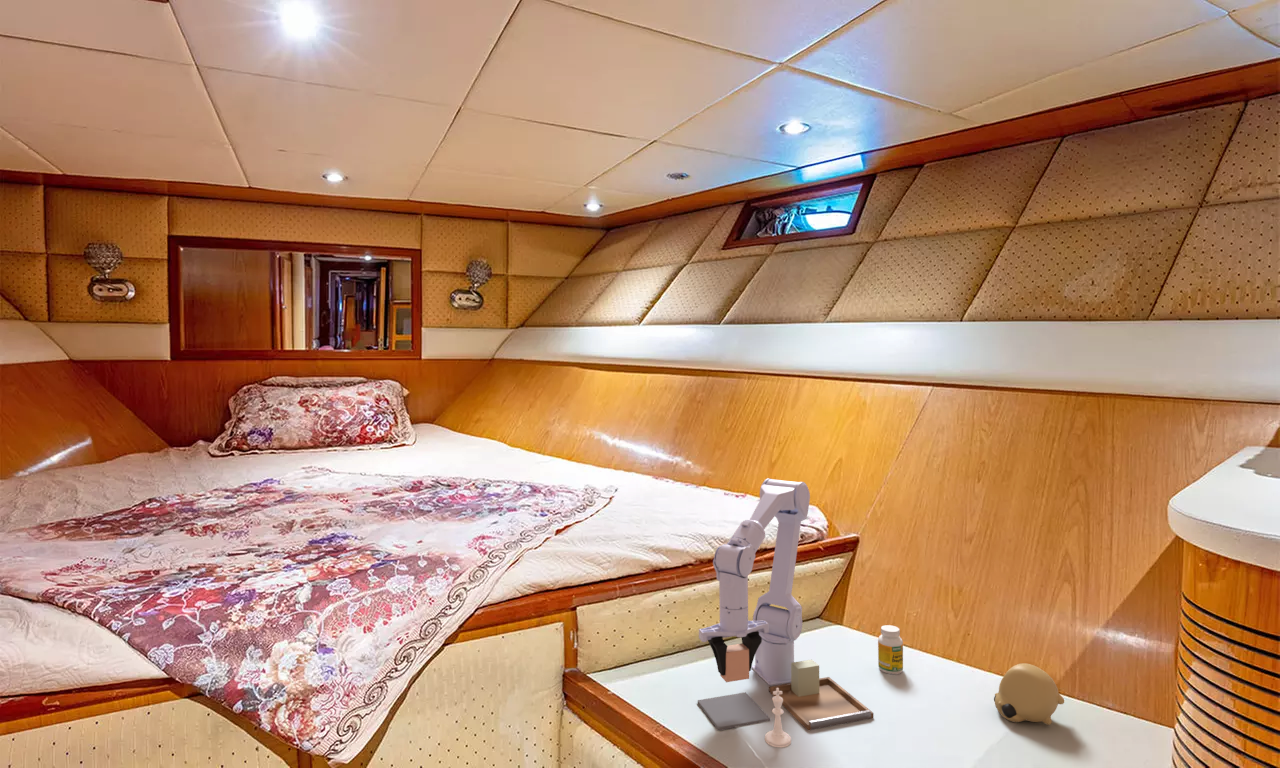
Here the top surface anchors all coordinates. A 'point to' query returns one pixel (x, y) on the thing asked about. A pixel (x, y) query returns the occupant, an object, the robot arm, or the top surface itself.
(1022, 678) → the tan animal figurine
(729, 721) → the mat
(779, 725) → the chess piece
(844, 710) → the wooden serving tray
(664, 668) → the top surface
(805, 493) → the robot arm
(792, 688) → the khaki rectangular block
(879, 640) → the supplement bottle
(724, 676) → the salmon pink box
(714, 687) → the top surface
